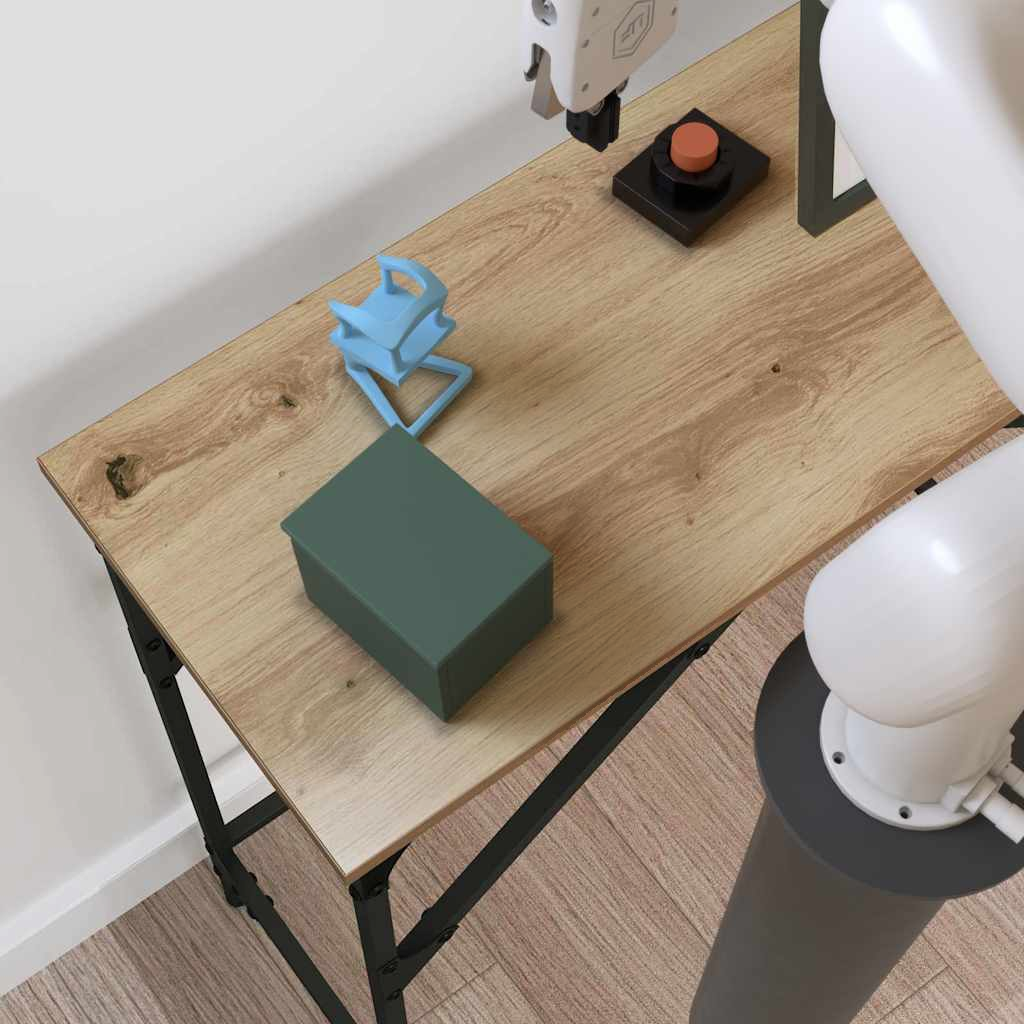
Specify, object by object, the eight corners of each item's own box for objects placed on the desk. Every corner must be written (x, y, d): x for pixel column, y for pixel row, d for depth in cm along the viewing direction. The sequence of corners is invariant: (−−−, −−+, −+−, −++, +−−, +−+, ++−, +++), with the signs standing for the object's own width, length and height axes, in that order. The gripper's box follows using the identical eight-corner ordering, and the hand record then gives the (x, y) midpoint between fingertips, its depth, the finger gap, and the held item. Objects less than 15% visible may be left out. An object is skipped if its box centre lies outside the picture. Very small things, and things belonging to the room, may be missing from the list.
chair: (391, 322, 124) (376, 222, 114) (475, 377, 121) (468, 279, 111) (324, 389, 121) (303, 292, 111) (409, 447, 119) (396, 353, 108)
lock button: (725, 154, 127) (728, 138, 125) (696, 180, 126) (697, 164, 124) (690, 130, 128) (692, 115, 127) (660, 155, 127) (662, 140, 125)
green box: (307, 598, 113) (289, 539, 105) (415, 501, 116) (406, 437, 109) (445, 723, 108) (437, 671, 100) (553, 619, 112) (553, 560, 104)
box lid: (280, 528, 105) (278, 523, 104) (397, 427, 109) (396, 421, 108) (437, 670, 100) (436, 665, 100) (553, 560, 104) (554, 554, 103)
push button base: (768, 176, 130) (774, 142, 127) (686, 248, 127) (690, 215, 123) (692, 125, 133) (696, 90, 130) (611, 194, 130) (613, 160, 126)
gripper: (563, 16, 87) (559, 232, 103) (737, -128, 92) (707, 99, 108) (461, -49, 89) (473, 172, 105) (636, -186, 94) (622, 44, 110)
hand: (592, 134), depth 106 cm, fingers closed
